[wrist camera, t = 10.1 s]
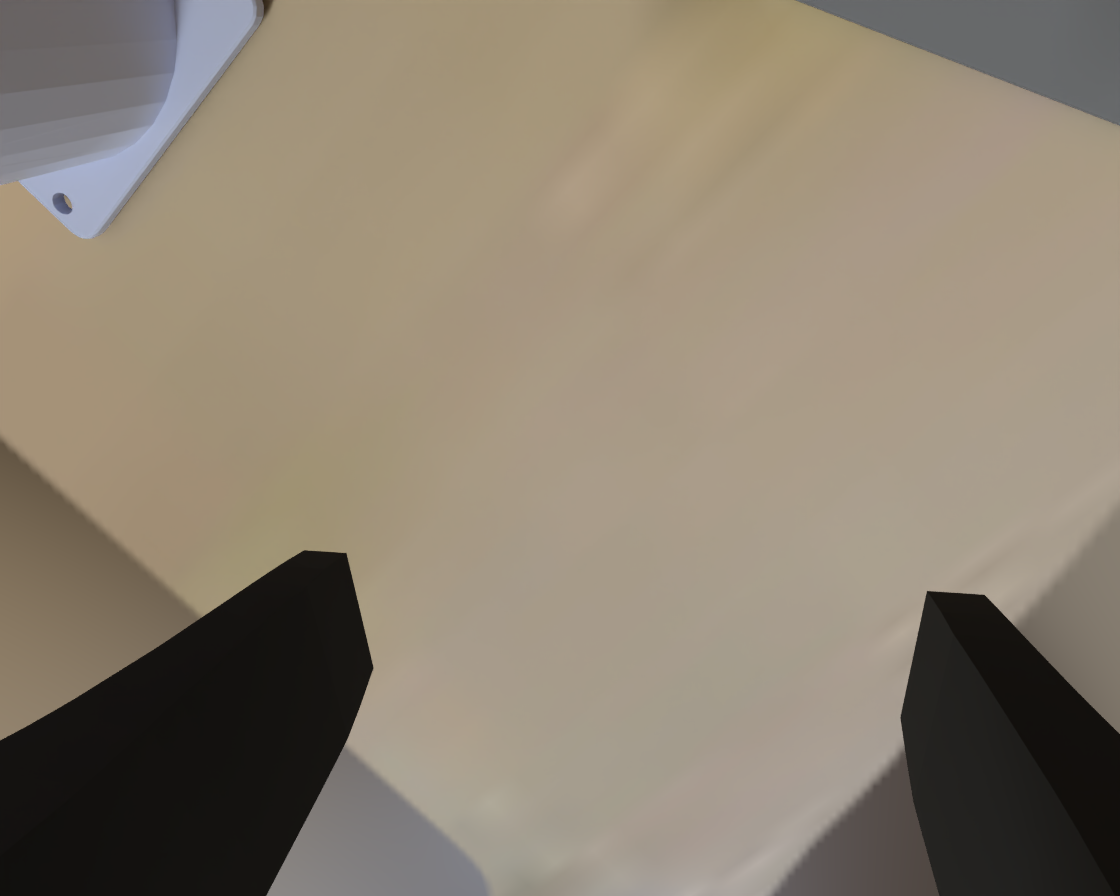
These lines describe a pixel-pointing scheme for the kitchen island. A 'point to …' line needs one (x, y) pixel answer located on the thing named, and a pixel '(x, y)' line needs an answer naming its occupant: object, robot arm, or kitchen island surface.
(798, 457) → the kitchen island surface
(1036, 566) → the kitchen island surface
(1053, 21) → the mat
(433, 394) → the kitchen island surface
